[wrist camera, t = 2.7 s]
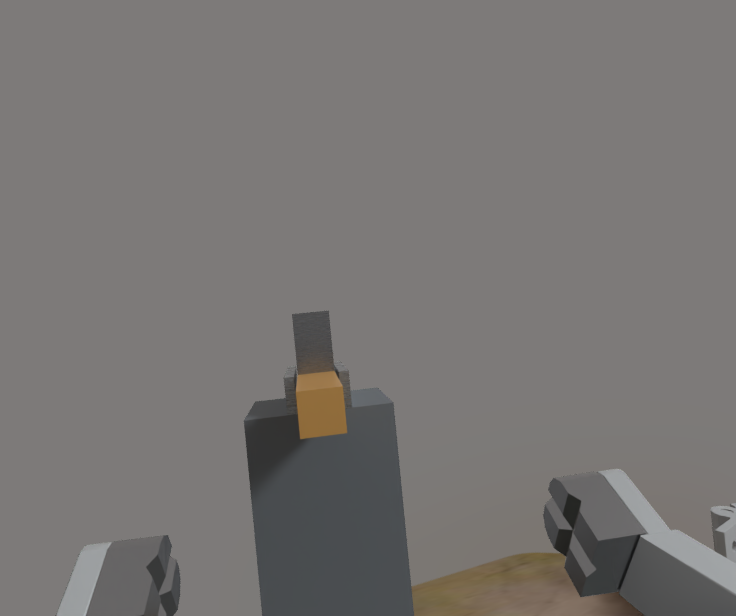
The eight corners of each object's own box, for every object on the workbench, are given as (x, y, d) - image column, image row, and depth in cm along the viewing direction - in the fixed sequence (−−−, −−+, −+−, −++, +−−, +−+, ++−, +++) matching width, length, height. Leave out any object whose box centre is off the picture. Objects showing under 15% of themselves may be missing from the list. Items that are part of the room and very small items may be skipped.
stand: (236, 759, 39) (201, 387, 39) (248, 677, 48) (220, 374, 48) (459, 713, 41) (425, 362, 42) (432, 643, 50) (404, 354, 50)
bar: (300, 439, 32) (288, 313, 32) (302, 396, 49) (294, 314, 49) (347, 432, 32) (335, 308, 32) (332, 392, 50) (324, 311, 50)
